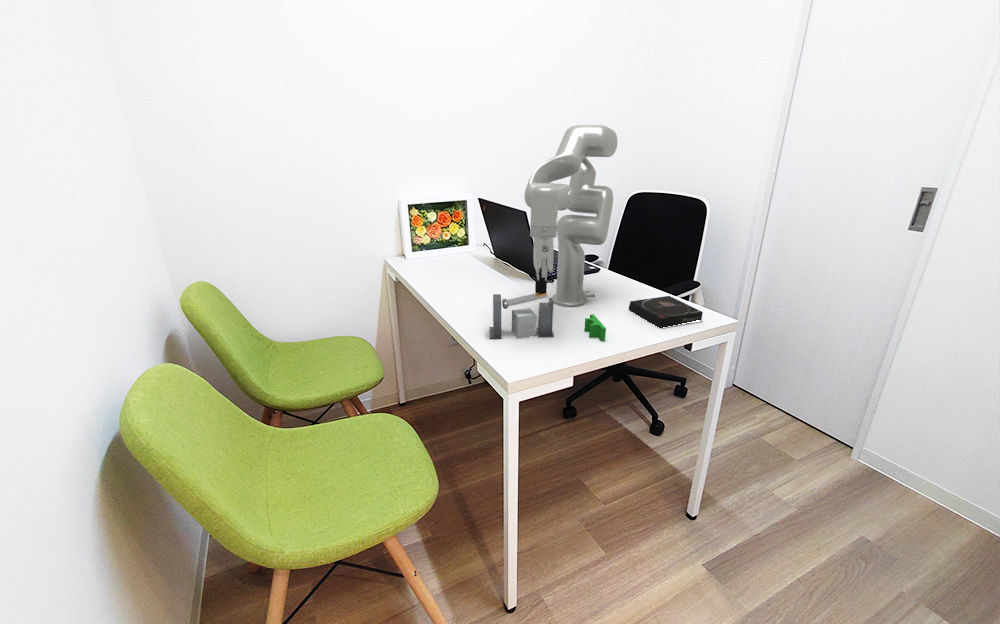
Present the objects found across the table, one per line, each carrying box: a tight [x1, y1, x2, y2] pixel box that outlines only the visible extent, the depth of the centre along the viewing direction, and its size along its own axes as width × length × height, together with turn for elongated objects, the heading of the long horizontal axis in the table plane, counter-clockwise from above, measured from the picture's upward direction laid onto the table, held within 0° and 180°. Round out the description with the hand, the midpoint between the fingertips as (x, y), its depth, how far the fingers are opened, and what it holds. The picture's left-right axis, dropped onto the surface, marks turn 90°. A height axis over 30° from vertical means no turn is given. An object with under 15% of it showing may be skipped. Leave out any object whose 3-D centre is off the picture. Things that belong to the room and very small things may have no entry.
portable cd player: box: [628, 295, 704, 329], centre depth 151 cm, size 16×17×4 cm
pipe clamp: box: [584, 313, 607, 343], centre depth 137 cm, size 11×4×5 cm, turn 8°
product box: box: [511, 307, 537, 339], centre depth 137 cm, size 6×6×7 cm
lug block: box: [536, 297, 555, 338], centre depth 136 cm, size 5×6×11 cm
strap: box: [501, 291, 549, 310], centre depth 134 cm, size 14×4×2 cm, turn 92°
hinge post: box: [489, 293, 502, 340], centre depth 136 cm, size 4×8×12 cm, turn 2°
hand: (540, 292), depth 133 cm, fingers closed
